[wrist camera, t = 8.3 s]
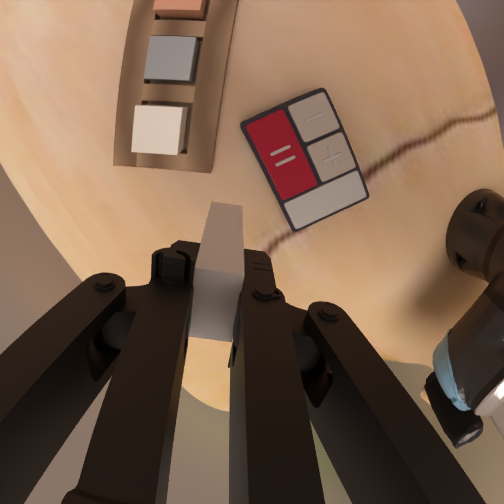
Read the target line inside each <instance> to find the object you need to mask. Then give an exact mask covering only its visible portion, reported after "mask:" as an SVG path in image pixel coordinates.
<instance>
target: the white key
mask: <svg viewBox="0 0 504 504" xmlns="http://www.w3.org/2000/svg"><path fill="white" fill-rule="evenodd" d="M187 111H188V107H180V106H164V105H135V112H134V122H133V135H132V149H131V152H139V153H154V154H167V155H178V154H179V153H180V152H181V151H182V150H183V146H184V136H185V128H186V119H187Z"/></svg>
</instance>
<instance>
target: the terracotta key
mask: <svg viewBox="0 0 504 504" xmlns="http://www.w3.org/2000/svg"><path fill="white" fill-rule="evenodd" d="M206 3H207V0H155V2H154V6H153V10H154V11H155V12H156V13H157V15H158V16H159V17H160V18H184V19H203V18H204V13H205V7H206Z"/></svg>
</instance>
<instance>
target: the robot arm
mask: <svg viewBox="0 0 504 504" xmlns="http://www.w3.org/2000/svg"><path fill="white" fill-rule="evenodd" d="M446 248H447V253H448V256H449V258H450V260H451V262H452V263H453V264H454V265H455V266H456V267H457V268H458V269H459V270H461V271H462V272H464V273H466V274H469V275H472V276H475V277H478V278H480V279H483V280H486V281H487V282H488V283H489V285H488V286H487V288H486V289H485V290H484V291H483V293H482V294H481V295H480V296H479V298H478V299H477V300H476V301H475V303H474V304H473V305H472V306H471V307H470V308H469V310H468V311H467V312H466V313H465V314H464V315H463V317H462V318H461V319H460V320H459V321H458V322H457V323H456V324H455V325H454V327H453V328H451V329H450V330H449V331H448V332H447V334H446V336H445V337H444V338H443V340H442V341H441V342H440V343H439V344H438V345H437V346H436V348H435V350H434V353H433V367H434V371H435V374H436V376H437V379H438V381H439V383H440V385H441V387H442V389H443V391H444V392H445V394H446V395H447V397H448V398H451V401H452V403H453V404H454V405H455V406H456V407H457V408H458V409H460V410H462V411H466V410H470V409H471V408H472V410H473V411H474V413H475V414H476V415H481V416H489V417H490V418H491V419H492V421H493V423H494V424H495V426H496V428H497V429H498V431H499V432H500V434H501V436H502V437H503V439H504V198H503V197H502V196H500V195H499V194H497V193H495V192H493V191H491V190H487V189H482V190H478V191H475V192H473V193H472V194H470V195H469V196H468V197H466V198H465V199H464V200H463V201H462V203H461V204H460V205H459V206H458V208H457V209H456V211H455V213H454V215H453V217H452V219H451V221H450V224H449V227H448V232H447V238H446ZM188 336H190V337H197V338H204V339H212V340H219V341H227V342H232V337H233V343H232V348H231V353H230V358H229V363H228V368H230V422H229V424H230V425H229V430H230V431H229V504H325V500H324V494H323V489H322V484H321V478H320V472H319V467H318V462H317V456H316V450H315V445H314V440H313V435H312V429H311V424H310V420H311V422H312V424H313V426H314V429H315V430H316V433H317V434H318V436H319V439H320V441H321V443H322V445H323V446H324V449H325V451H326V452H327V455H328V457H329V459H330V460H331V463H332V465H333V467H334V468H335V470H336V472H337V475H338V477H339V478H340V480H341V482H342V484H343V486H344V488H345V490H346V492H347V494H348V496H349V498H350V500H351V502H352V504H486V503H485V502H484V500H483V498H482V497H481V495H480V494H479V492H478V491H477V489H476V488H475V486H474V485H473V484H472V482H471V480H470V479H469V478H468V476H467V475H466V473H465V472H464V470H463V469H462V467H461V466H460V464H459V463H458V462H457V460H456V459H455V457H454V456H453V454H452V453H451V452H450V450H449V449H448V447H447V446H446V445H445V443H444V442H443V440H442V439H441V438H440V436H439V435H438V433H437V432H436V431H435V429H434V428H433V426H432V425H431V424H430V422H429V421H428V420H427V418H426V417H425V415H424V414H423V413H422V411H421V410H420V409H419V407H418V406H417V404H416V403H415V402H414V401H413V399H412V398H411V396H410V395H409V394H408V392H407V391H406V390H405V388H404V387H403V386H402V385H401V383H400V382H399V380H398V379H397V378H396V376H395V375H394V374H393V372H392V371H391V370H390V369H389V368H388V366H387V365H386V363H385V362H384V361H383V359H382V358H381V357H380V355H379V354H378V353H377V352H376V350H375V349H374V348H373V346H372V345H371V344H370V342H369V341H368V340H367V339H366V337H365V336H364V335H363V333H362V332H361V331H360V330H359V328H358V327H357V326H356V325H355V323H354V322H353V321H352V319H351V318H350V317H349V316H348V314H347V313H346V312H345V311H344V310H343V309H342V308H340V307H338V306H337V305H335V304H333V303H330V302H322V301H319V302H313V303H312V304H311V305H309V308H308V311H307V310H303V309H300V308H297V307H294V306H292V305H290V304H288V303H286V302H285V297H284V295H283V293H282V292H281V291H280V290H279V289H278V288H276V283H275V278H274V273H273V268H272V263H271V258H270V257H269V256H268V255H267V254H266V253H265V252H263V251H256V250H249V249H244V244H243V214H242V206H237V205H231V204H224V203H217V202H211V206H210V210H209V214H208V217H207V221H206V225H205V229H204V233H203V237H202V241H201V243H195V242H188V241H181V240H178V241H177V242H175V243H174V244H172V245H171V247H170V248H162V249H159V250H157V251H155V252H154V253H153V254H152V264H151V280H150V282H149V284H146V285H143V286H129V287H125V281H124V279H123V278H122V277H120V276H118V275H117V274H113V273H105V272H104V273H98V274H94V275H92V276H90V277H89V278H87V279H86V280H85V281H83V282H82V283H81V284H80V285H79V286H77V287H76V288H75V289H74V290H73V291H71V292H70V293H69V294H68V295H66V296H65V297H64V298H63V299H62V300H61V301H59V302H58V303H57V304H56V305H55V306H54V307H52V308H51V309H50V310H49V311H48V312H47V313H46V314H44V315H43V316H42V317H41V318H40V319H39V320H37V321H36V322H35V323H34V324H33V325H32V326H31V327H30V328H28V329H27V330H26V331H25V332H24V333H23V334H22V335H21V336H20V337H19V338H18V339H16V340H15V341H14V342H13V343H12V344H11V345H10V346H9V347H8V348H7V349H6V350H5V351H4V352H3V353H2V354H1V355H0V504H24V502H25V501H26V499H27V498H28V496H29V495H30V493H31V492H32V490H33V489H34V487H35V485H36V484H37V482H38V481H39V479H40V478H41V476H42V475H43V473H44V472H45V470H46V469H47V467H48V466H49V464H50V463H51V461H52V460H53V458H54V457H55V455H56V454H57V452H58V451H59V450H60V448H61V447H62V445H63V444H64V442H65V441H66V439H67V438H68V436H69V435H70V434H71V432H72V431H73V429H74V428H75V426H76V425H77V424H78V422H79V421H80V419H81V418H82V416H83V415H84V414H85V412H86V411H87V409H88V408H89V407H90V405H91V404H92V402H93V401H94V400H95V398H96V397H97V395H98V394H99V393H100V391H101V390H102V388H103V387H104V386H105V384H106V383H107V382H108V380H109V379H110V377H111V376H112V377H111V380H110V383H109V386H108V389H107V391H106V394H105V398H104V400H103V403H102V406H101V409H100V412H99V415H98V418H97V421H96V425H95V428H94V431H93V434H92V437H91V440H90V444H89V447H88V451H87V454H86V457H85V461H84V464H83V468H82V471H81V475H80V479H79V482H78V485H77V486H76V487H75V489H73V490H71V491H69V492H67V494H66V495H65V496H64V498H63V500H62V502H61V504H166V500H167V491H168V482H169V473H170V464H171V456H172V448H173V441H174V432H175V426H176V418H177V411H178V404H179V398H180V391H181V384H182V378H183V372H184V365H185V359H186V353H187V347H188ZM309 418H310V419H309Z"/></svg>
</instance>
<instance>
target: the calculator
mask: <svg viewBox="0 0 504 504" xmlns="http://www.w3.org/2000/svg"><path fill="white" fill-rule="evenodd" d="M240 126H241V129H242V131H243V133H244V135H245V137H246V139H247V141H248V142H249V144H250V146H251V148H252V150H253V152H254V154H255V156H256V158H257V160H258V162H259V164H260V166H261V168H262V170H263V172H264V174H265V176H266V178H267V180H268V182H269V184H270V186H271V188H272V190H273V192H274V194H275V196H276V198H277V200H278V202H279V204H280V206H281V209H282V211H283V213H284V215H285V217H286V219H287V221H288V223H289V225H290V227H291V229H292V231H293V232H297V231H299V230H302V229H304V228H306V227H308V226H310V225H312V224H314V223H317V222H319V221H321V220H323V219H325V218H327V217H329V216H332V215H334V214H336V213H338V212H340V211H342V210H344V209H347V208H349V207H351V206H353V205H355V204H357V203H360V202H362V201H364V200H366V199H368V198H369V193H368V190H367V187H366V184H365V182H364V179H363V176H362V174H361V171H360V168H359V166H358V163H357V160H356V158H355V155H354V153H353V150H352V148H351V145H350V143H349V141H348V138H347V136H346V133H345V131H344V129H343V126H342V124H341V122H340V119H339V117H338V115H337V113H336V110H335V108H334V106H333V104H332V102H331V100H330V97H329V95H328V93H327V91H326V89H324V88H319V89H316V90H314V91H311V92H309V93H306V94H304V95H301V96H299V97H297V98H294V99H292V100H290V101H287V102H285V103H283V104H280V105H278V106H276V107H274V108H271V109H269V110H267V111H265V112H263V113H260V114H258V115H256V116H254V117H252V118H250V119H248V120H246V121H244V122H242V123H241V125H240Z"/></svg>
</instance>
